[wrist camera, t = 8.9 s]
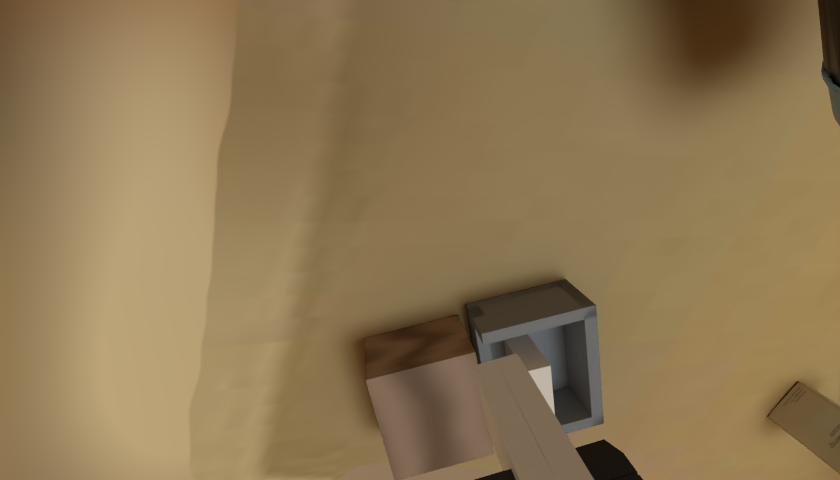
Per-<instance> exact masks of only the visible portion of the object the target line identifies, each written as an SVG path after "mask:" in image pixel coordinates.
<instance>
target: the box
mask: <svg viewBox="0 0 840 480" xmlns="http://www.w3.org/2000/svg"><path fill="white" fill-rule="evenodd" d="M466 309H467V314H468V320H469V325H470V331H471V336H472V342H473V347H474V350H475V352H476V358H477V363H478V364H481V363H485V362H488V361H492V360H495V359H499V358H502V357H506V351H505V344H504V340H506V339H510V338H514V337H518V336H522V335H525V334H528V336H529V337H530V338H531V340H532V341H533V342H534V344H535V345H536V346H537V348H538V349H539V351H540V352H541V353H542V355H543V356H544V357H545V359H546V360H547V362H548V363H549V364H550V366H551V376H552V387H553V399H554V410H555V416H556V418H557V419H558V421H559V423H560V424H561V426H562V428H563V429H564V431H565V433H570V432H574V431H577V430H581V429H585V428H588V427H592V426H596V425H599V424H603V423H604V421H603V405H602V390H601V375H600V359H599V344H598V329H597V314H596V305H595V304H594V303H593V302H592V301H591V300H589V299H588V298H587V297H586V296H585V295H583V294H582V293H581V292H580V291H579V290H578V289H576V288H575V287H574V286H573V285H572V284H571V283H569V282H568V281H567V280H562V281H558V282H554V283H550V284H546V285H542V286H538V287H533V288H529V289H525V290H521V291H517V292H513V293H509V294H505V295H501V296H497V297H493V298H489V299H485V300H481V301H477V302H473V303H469V304H466Z"/></svg>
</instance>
